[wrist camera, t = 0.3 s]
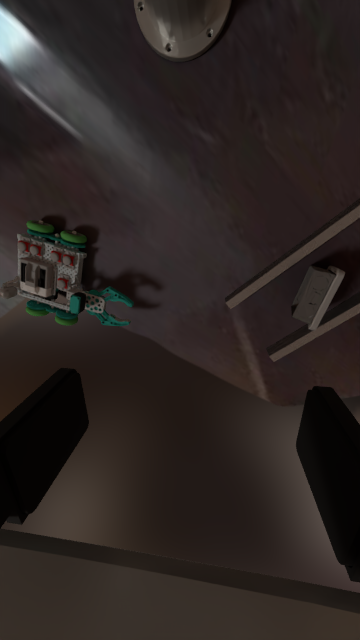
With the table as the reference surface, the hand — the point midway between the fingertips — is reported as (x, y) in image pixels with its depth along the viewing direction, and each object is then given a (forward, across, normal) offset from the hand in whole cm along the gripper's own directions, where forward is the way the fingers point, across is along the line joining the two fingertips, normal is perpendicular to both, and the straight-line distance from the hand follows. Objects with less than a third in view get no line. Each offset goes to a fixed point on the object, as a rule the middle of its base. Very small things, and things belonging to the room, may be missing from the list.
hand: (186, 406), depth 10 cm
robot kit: (+36, +25, +2) cm, 44 cm away
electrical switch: (+36, -17, +3) cm, 40 cm away
